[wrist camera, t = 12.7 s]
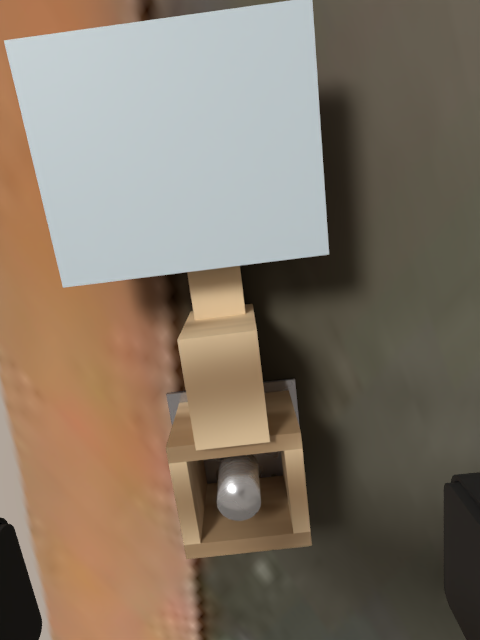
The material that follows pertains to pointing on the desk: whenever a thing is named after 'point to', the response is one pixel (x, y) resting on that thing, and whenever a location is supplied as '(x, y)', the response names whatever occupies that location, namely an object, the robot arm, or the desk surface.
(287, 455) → the link
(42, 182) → the plate
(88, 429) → the desk surface
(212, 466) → the pintle
